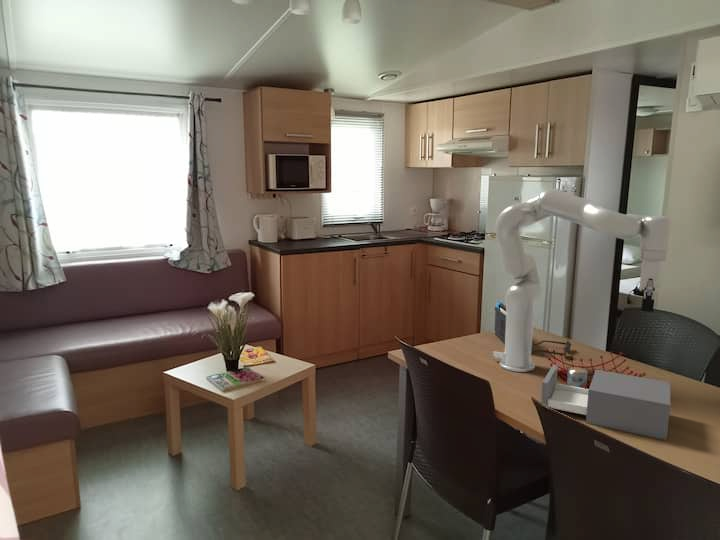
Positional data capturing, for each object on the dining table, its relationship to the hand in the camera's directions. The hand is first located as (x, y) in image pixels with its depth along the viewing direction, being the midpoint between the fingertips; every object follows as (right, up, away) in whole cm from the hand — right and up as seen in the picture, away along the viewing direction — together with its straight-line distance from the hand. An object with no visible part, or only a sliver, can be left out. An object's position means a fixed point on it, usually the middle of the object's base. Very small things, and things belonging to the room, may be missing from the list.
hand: (647, 307), depth 167 cm
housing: (-14, -31, -15) cm, 37 cm away
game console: (-28, -19, +55) cm, 65 cm away
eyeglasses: (-16, -21, +43) cm, 51 cm away
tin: (-20, -27, +7) cm, 34 cm away
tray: (-26, -29, -9) cm, 40 cm away
